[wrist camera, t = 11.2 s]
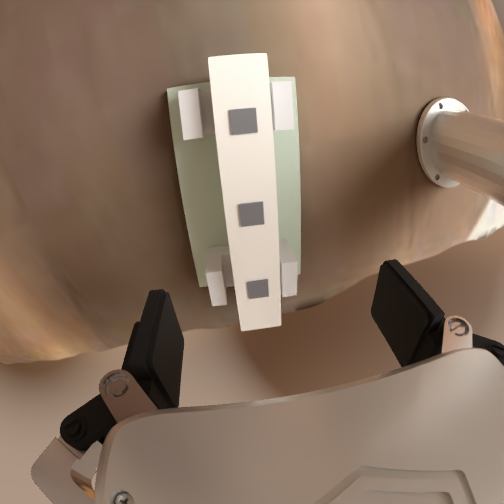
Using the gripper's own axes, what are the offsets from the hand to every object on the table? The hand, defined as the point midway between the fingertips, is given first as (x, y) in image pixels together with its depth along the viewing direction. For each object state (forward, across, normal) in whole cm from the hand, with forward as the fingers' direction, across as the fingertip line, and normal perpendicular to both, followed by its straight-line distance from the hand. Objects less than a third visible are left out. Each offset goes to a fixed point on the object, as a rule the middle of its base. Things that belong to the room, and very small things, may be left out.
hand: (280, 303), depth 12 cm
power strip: (+16, 0, 0) cm, 16 cm away
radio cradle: (+19, 0, 0) cm, 19 cm away
